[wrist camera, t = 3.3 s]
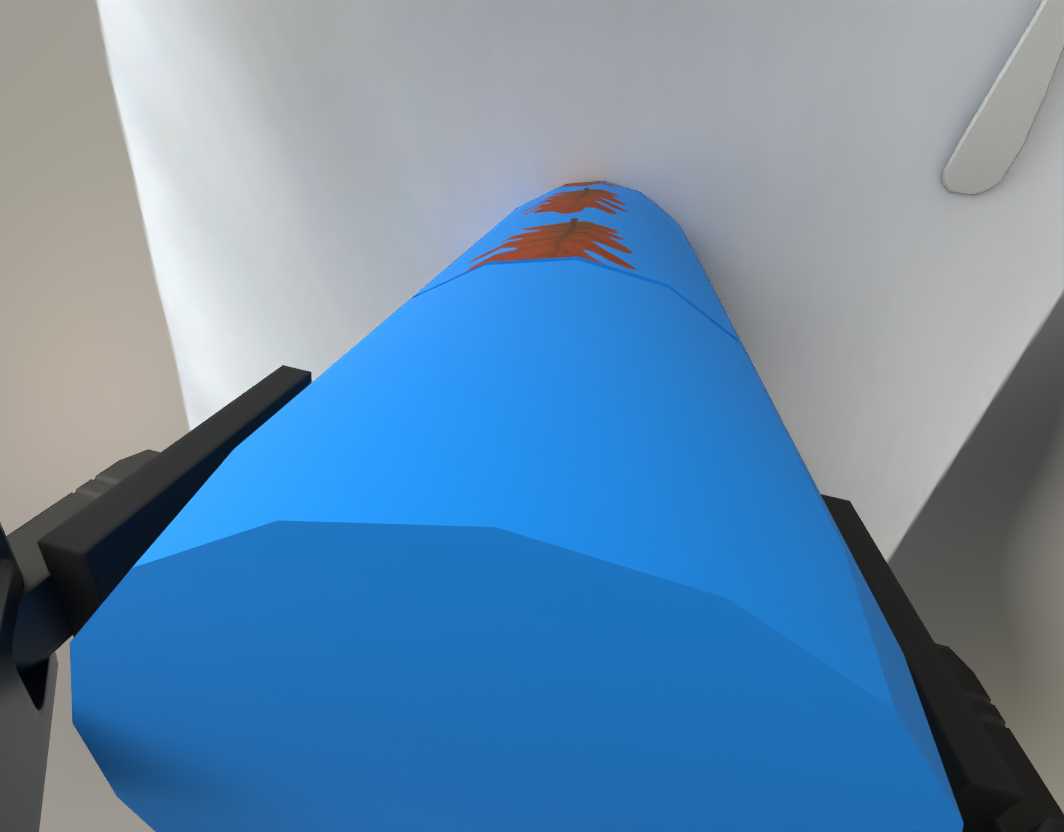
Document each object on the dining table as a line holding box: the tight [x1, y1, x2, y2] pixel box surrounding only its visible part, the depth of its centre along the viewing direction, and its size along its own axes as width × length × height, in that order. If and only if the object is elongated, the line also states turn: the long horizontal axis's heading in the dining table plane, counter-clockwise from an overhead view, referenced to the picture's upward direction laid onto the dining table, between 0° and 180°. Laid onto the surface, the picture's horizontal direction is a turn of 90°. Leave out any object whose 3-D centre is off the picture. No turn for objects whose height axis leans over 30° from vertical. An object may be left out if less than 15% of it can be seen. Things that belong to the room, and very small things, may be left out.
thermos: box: [70, 181, 964, 832], centre depth 17 cm, size 11×11×25 cm
